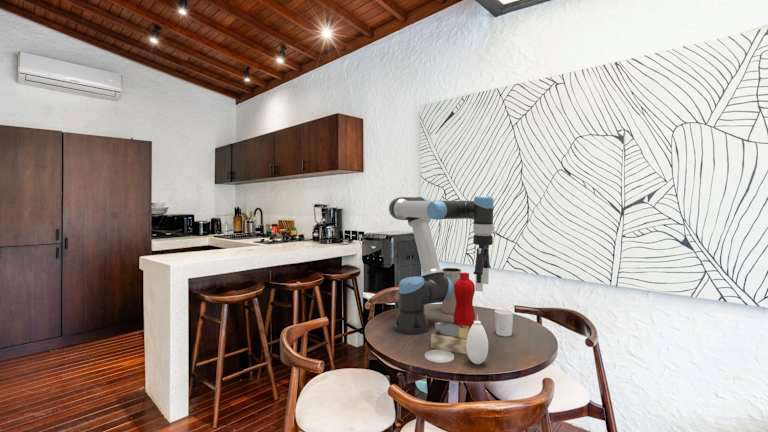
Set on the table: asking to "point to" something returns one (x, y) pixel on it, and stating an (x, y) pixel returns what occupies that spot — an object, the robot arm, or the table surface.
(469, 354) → the sauce bottle
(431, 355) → the white round disc
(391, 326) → the table surface
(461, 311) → the red lumpy piece
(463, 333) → the lever
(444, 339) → the beige long block
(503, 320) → the white cup
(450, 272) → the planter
